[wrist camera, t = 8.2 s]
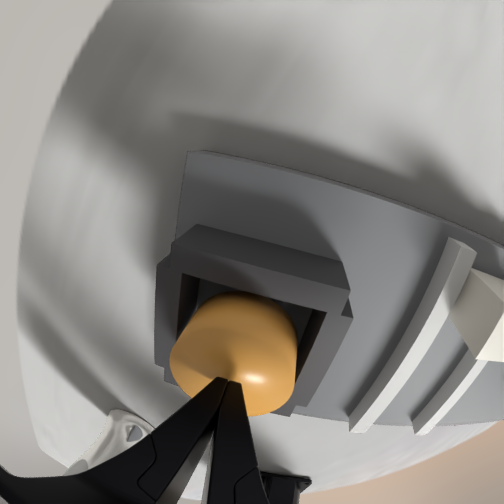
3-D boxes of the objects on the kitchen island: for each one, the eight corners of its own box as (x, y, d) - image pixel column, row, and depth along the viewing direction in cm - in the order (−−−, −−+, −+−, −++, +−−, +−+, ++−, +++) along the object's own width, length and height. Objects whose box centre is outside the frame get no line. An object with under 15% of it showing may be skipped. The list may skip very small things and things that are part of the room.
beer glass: (116, 432, 25) (61, 524, 11) (98, 396, 22) (25, 502, 8) (170, 452, 24) (122, 558, 10) (159, 420, 21) (93, 549, 7)
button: (280, 385, 12) (274, 426, 10) (188, 358, 12) (168, 395, 10) (312, 308, 10) (313, 349, 8) (197, 277, 10) (172, 310, 8)
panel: (498, 405, 15) (512, 438, 11) (178, 357, 17) (150, 405, 13) (572, 285, 10) (601, 311, 6) (204, 150, 13) (158, 153, 8)
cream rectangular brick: (484, 320, 11) (515, 363, 7) (444, 311, 11) (475, 358, 7) (505, 280, 10) (543, 317, 6) (465, 265, 10) (507, 305, 7)
